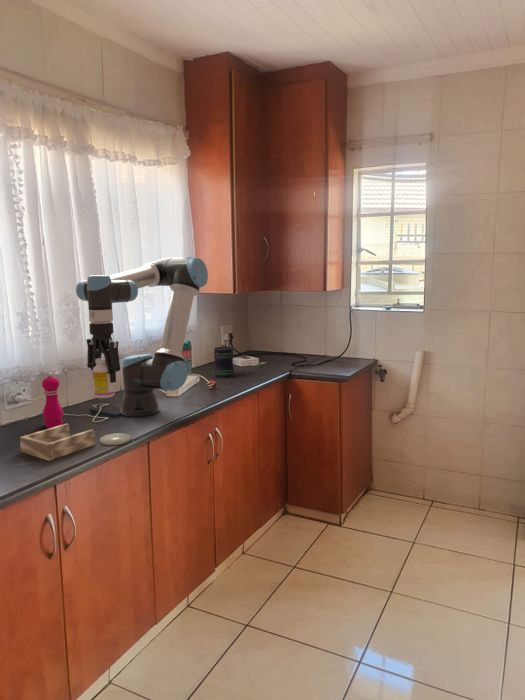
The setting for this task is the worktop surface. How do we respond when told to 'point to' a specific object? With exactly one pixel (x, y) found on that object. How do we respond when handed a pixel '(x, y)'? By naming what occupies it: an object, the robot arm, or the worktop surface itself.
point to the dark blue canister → (223, 362)
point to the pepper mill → (52, 402)
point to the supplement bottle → (101, 379)
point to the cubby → (55, 442)
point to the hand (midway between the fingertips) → (104, 390)
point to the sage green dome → (115, 439)
